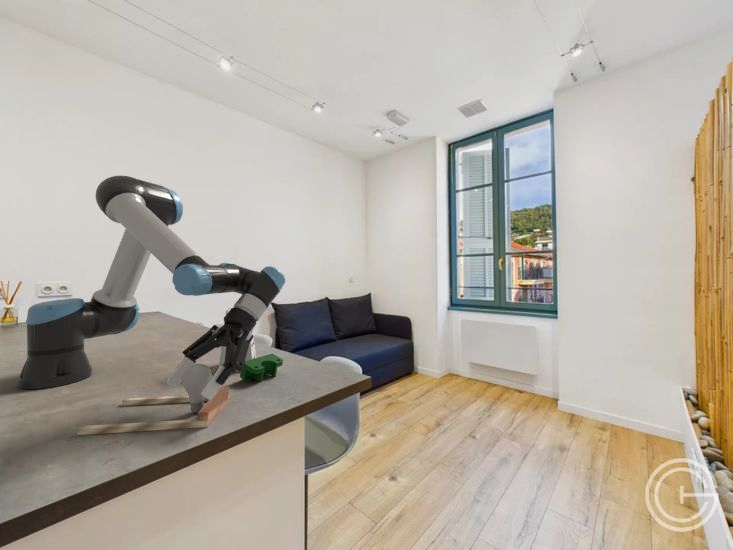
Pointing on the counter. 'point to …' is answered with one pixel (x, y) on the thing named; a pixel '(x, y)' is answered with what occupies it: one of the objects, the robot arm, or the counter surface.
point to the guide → (203, 420)
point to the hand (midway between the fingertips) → (187, 391)
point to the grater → (250, 353)
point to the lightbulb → (196, 384)
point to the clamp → (260, 367)
